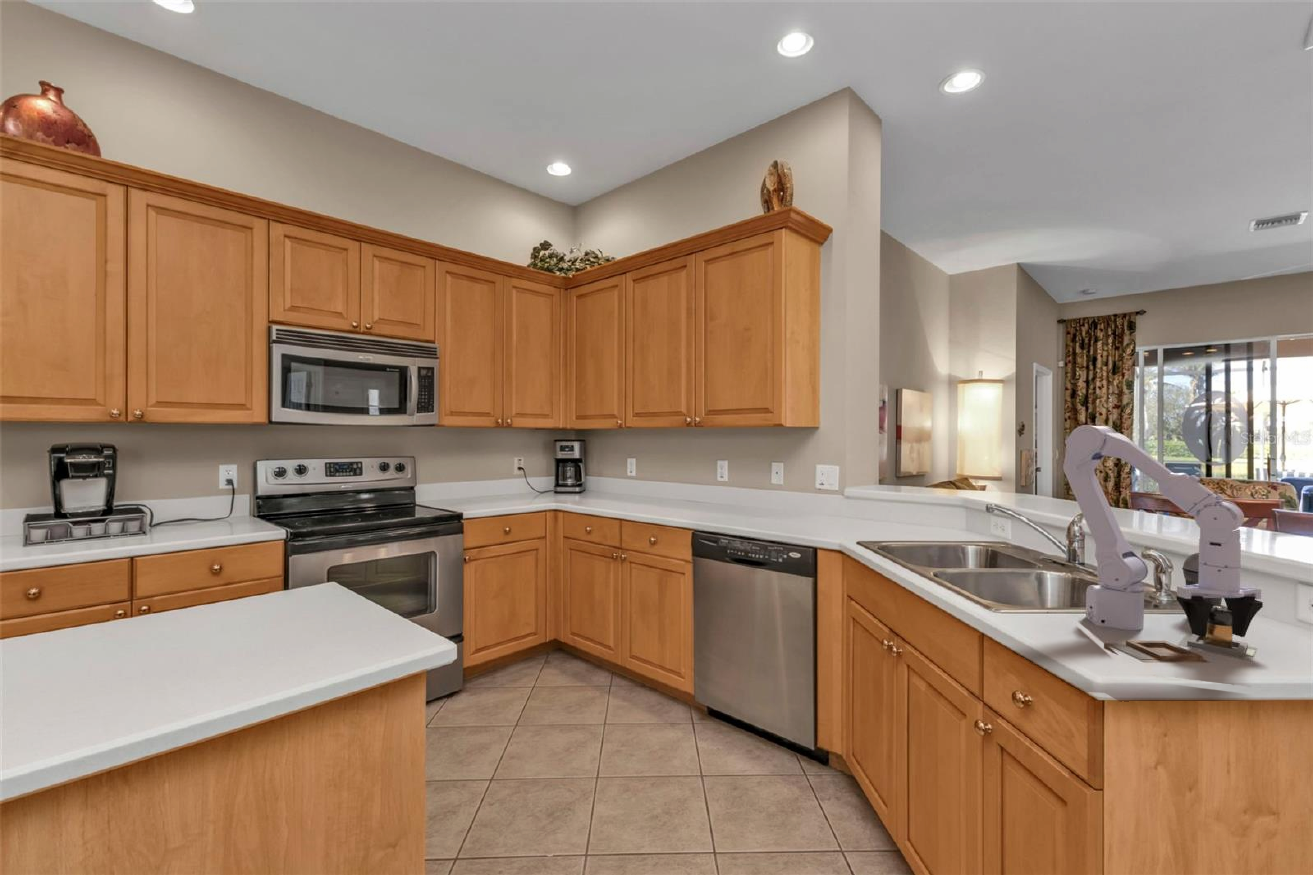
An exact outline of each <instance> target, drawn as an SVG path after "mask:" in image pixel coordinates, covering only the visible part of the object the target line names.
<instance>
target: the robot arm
mask: <svg viewBox="0 0 1313 875" xmlns="http://www.w3.org/2000/svg"><path fill="white" fill-rule="evenodd" d="M1064 443H1065V446H1066V447H1065V448H1066V449H1065V454H1064V461H1063V465H1062V466H1063V467H1062V468H1063V472H1064V474H1065V475H1064V476H1065V477H1066V479H1067V481H1068V484H1069V486H1070V488H1071V490H1072V493H1073V495H1074V497H1075V500H1076V502H1077V504H1078V506H1079V508H1080V511H1081V514H1082V516H1083V518H1084V520H1085V523H1086V525H1087V527H1088V530H1089V532H1090V534H1091V536H1092V539H1093V541H1094V543H1095V553H1094V557H1095V559H1096V561H1097V562H1096V563H1097V567H1096V574H1097V576H1098V578H1099V580H1100V584H1097V585H1095V584H1091V585H1090V584H1089V585H1088V586H1087V588H1086V593H1085V618H1086V619H1087V620H1088V621H1089V622H1091V623H1092V624H1093V625H1095V626H1097V627H1103V628H1104V627H1105V628H1106V627H1107V628H1114V629H1122V630H1127V631H1141V630H1144V619H1145V616H1144V615H1145V614H1144V611H1145V587H1144V586H1143V583H1142V581H1144V580H1145V579H1146V578H1147V577H1148V576H1149V567H1148V564H1147V563H1146V561H1144V560H1143V559H1142V558H1141V557H1140V556H1139V555H1138V554H1137V553H1136V551H1135V548H1134V547H1133V545H1131V543H1130V542H1128V541H1127V540H1126V539H1125V537H1124V535H1123V533H1122V530H1121V528H1120V526H1119V523H1118V522H1117V519H1116V517H1115V514H1114V513H1113V510H1112V508H1111V505H1110V504H1109V501H1108V499H1107V497H1106V494H1105V492H1104V490H1103V487H1102V486H1101V483H1100V482H1099V479H1098V477H1097V475H1096V473H1095V470H1096V468H1097V467H1098V465H1099V464H1100V463H1101V461H1102V459H1103V458H1105V457H1111V458H1117V459H1121V460H1123V461H1124V462H1126V463H1128V464H1129V465H1130V466H1132V467H1133V468H1135V469H1136V470H1137V471H1138V472H1141V473H1142V474H1143V475H1145V476H1146V477H1148V478H1149V479H1151V480H1152V481H1154V482H1155V483H1157V484H1158V488H1159V494H1160V495H1161V496H1163V497H1165V498H1166V499H1167V500H1169V501H1170V502H1172V503H1173V504H1174V505H1175V506H1177V507H1178V508H1180V509H1181V510H1183V511H1184V512H1185V513H1186V514H1187V515H1188V516H1191V517H1194V521H1195V524H1196V525H1197V527H1198V528H1200V530H1199V540H1198V553H1199V583H1198V584H1194V585H1187V586H1186V585H1178V586H1177V587H1176V601H1177V602H1178V603H1179V605H1180V607H1181V608H1182V609H1183V612H1184V614H1185V616H1186V619H1187V621H1188V623H1189V624H1188V625H1189V627H1190V630H1191V631H1190V632H1191V634H1195V635H1198V636H1200V637H1205V636H1206V633H1207V622H1208V617H1209V614H1210V611H1211V609H1212V607H1213V606H1214V605H1213V604H1211V603H1208V602H1205V600H1203V598H1222V599H1224V601H1225V604H1226V608H1227V609H1226V610H1229V611H1232V612H1233V634H1232V635H1234V636H1237V637H1240V638H1245V637H1246V635H1247V631H1248V629H1249V627H1250V625H1251V623H1252V620H1253V619H1254V617H1255V616H1256V615H1257V613H1258V612H1259V611H1261V609H1262V608H1263V606H1264V605H1263V603H1264V602H1263V601H1260V600H1261V599H1262V589H1261V588H1260V587H1259V588H1258V587H1254V586H1251V585H1250V586H1249V585H1247V586H1246V585H1245V586H1244V585H1241V561H1242V560H1241V556H1242V555H1241V554H1242V553H1241V552H1242V551H1241V548H1242V545H1241V540H1240V539H1241V529H1239V528H1240V527H1241V526H1242V525H1243V524H1244V522H1245V514H1244V512H1243V511H1242V509H1241V508H1240V507H1239V506H1238V505H1237V504H1236V503H1234V502H1232V501H1228V500H1224V499H1225V497H1224V496H1223V495H1222V494H1220V493H1218V494H1216V493H1214V492H1213V491H1211V490H1210V489H1209V488H1208V487H1206V486H1204V485H1203V484H1201V483H1200V482H1199V481H1200V480H1201V478H1199V477H1198V476H1197V475H1195V474H1193V475H1189V474H1188V473H1185V472H1173V471H1172V470H1170V469H1169V468H1168V467H1166V466H1165V465H1164V464H1162V463H1161V462H1160V461H1159V460H1157V459H1156V458H1155V457H1153V456H1152V455H1151V454H1149V453H1148V452H1147V451H1145V450H1144V449H1143V448H1141V447H1140V446H1139V445H1138V444H1137V443H1135V442H1134V441H1132V440H1131V439H1129V437H1127V436H1126V435H1124V434H1122V433H1119V432H1117V431H1116V430H1115V429H1113V428H1112V427H1110V426H1107V425H1091V424H1090V425H1088V424H1085V425H1083V424H1082V425H1080V426H1078V427H1075V428H1074V429H1073V430H1072V431H1071V433H1070V434H1069V435H1068V436H1067V438H1066V440H1065V441H1064ZM1102 621H1103V622H1102Z"/></svg>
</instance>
